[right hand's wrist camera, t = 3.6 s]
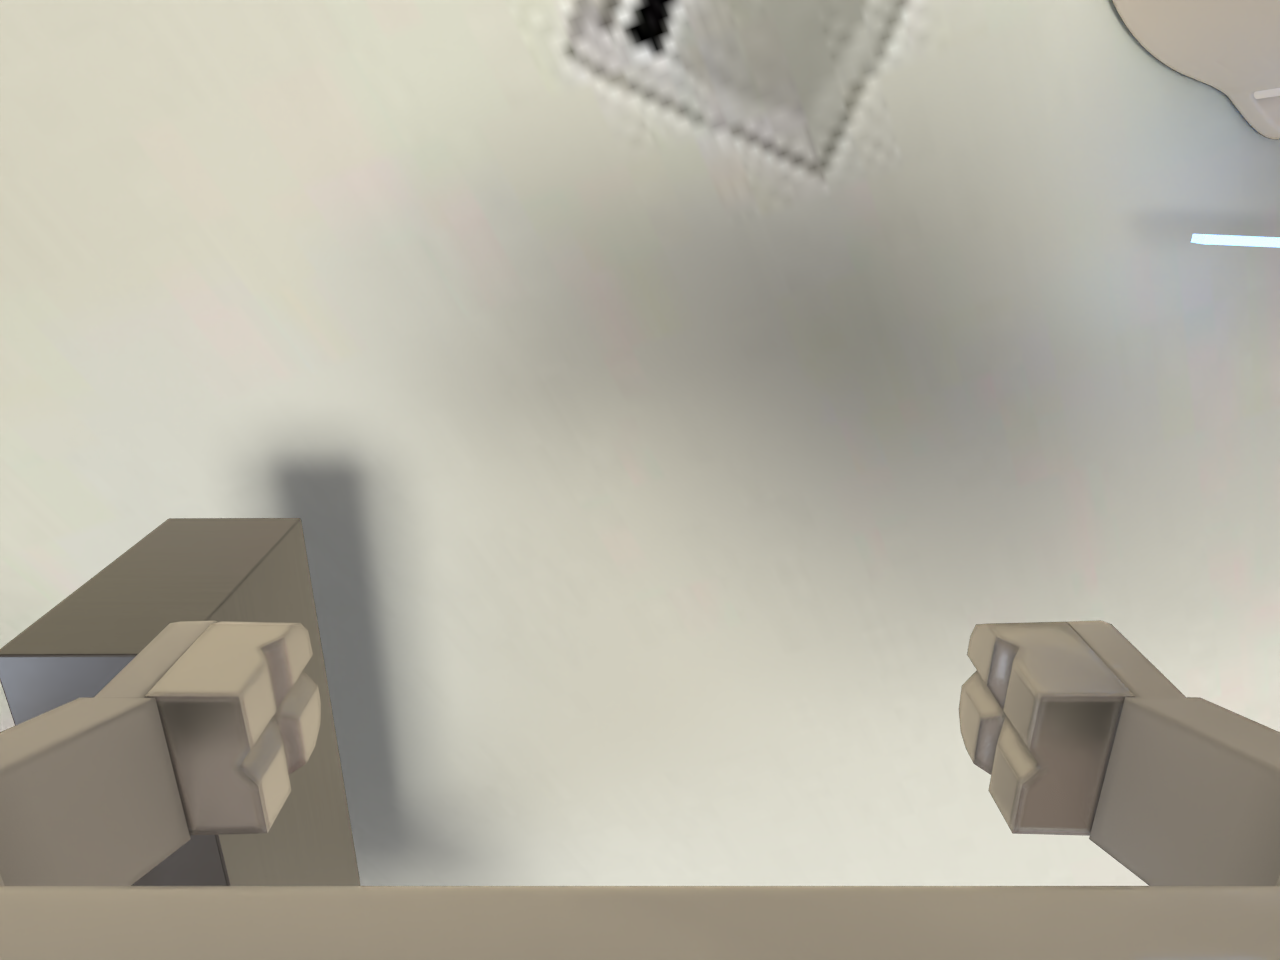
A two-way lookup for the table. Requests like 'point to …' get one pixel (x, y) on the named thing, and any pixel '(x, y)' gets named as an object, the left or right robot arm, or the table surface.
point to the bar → (200, 591)
